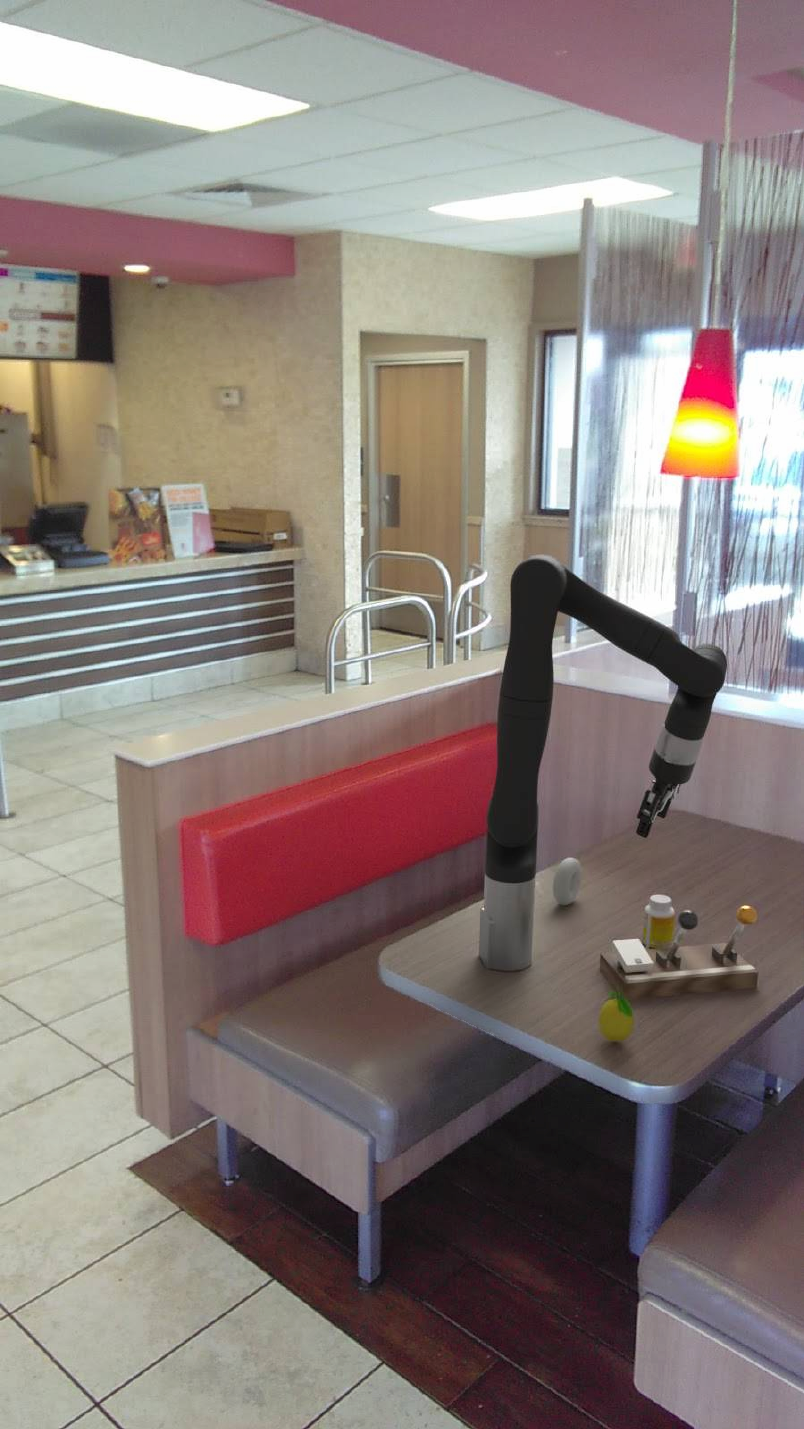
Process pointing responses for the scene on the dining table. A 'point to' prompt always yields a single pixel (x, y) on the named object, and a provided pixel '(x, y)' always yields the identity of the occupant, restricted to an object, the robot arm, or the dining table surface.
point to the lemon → (616, 1018)
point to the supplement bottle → (658, 923)
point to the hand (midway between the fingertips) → (650, 825)
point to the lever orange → (740, 926)
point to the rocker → (632, 955)
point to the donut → (567, 881)
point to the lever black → (682, 930)
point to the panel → (682, 972)
